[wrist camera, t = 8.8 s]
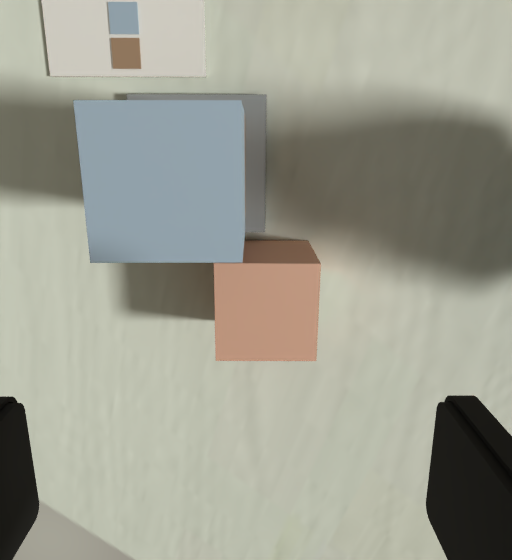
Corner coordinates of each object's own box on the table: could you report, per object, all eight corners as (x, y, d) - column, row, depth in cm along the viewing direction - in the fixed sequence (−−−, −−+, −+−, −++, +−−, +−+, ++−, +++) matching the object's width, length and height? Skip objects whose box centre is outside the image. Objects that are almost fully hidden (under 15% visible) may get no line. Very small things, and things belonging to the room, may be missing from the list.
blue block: (245, 231, 23) (242, 262, 17) (131, 231, 23) (90, 262, 17) (244, 111, 21) (241, 100, 16) (121, 111, 21) (73, 100, 16)
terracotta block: (304, 321, 32) (316, 360, 26) (222, 320, 32) (215, 360, 26) (308, 240, 30) (320, 263, 24) (221, 239, 30) (213, 263, 24)
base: (264, 229, 30) (268, 254, 23) (139, 229, 30) (107, 254, 23) (265, 95, 27) (269, 81, 21) (130, 95, 27) (91, 81, 21)
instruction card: (206, 77, 27) (205, 76, 27) (51, 76, 27) (49, 75, 27) (203, -42, 25) (202, -44, 25) (38, -43, 25) (35, -45, 25)
